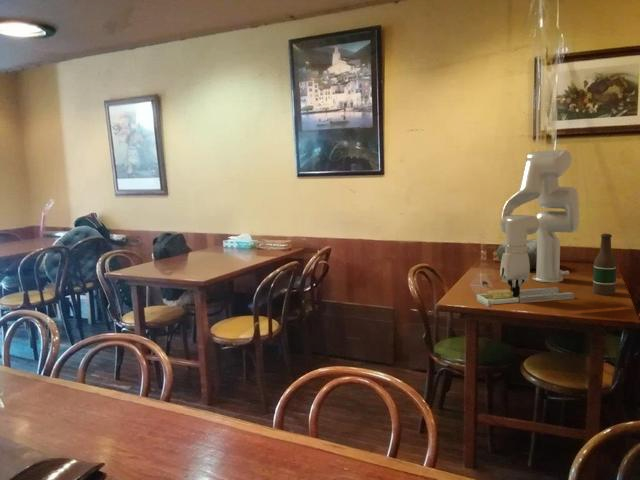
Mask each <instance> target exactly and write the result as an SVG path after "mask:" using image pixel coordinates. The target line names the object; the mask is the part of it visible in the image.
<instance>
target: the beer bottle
mask: <svg viewBox="0 0 640 480" xmlns="http://www.w3.org/2000/svg"><path fill="white" fill-rule="evenodd" d="M600 237H601V239H600V248H599V253H598V254H597V256H596V257H595V259H594V261H593V262H594V263H593V270H592V271H593V275H592V276H593V277H592V293H593V294H595V295H599V296H614V295H615V294H616V287H617V286H616V284H617V281H616V280H617V260H616V259H615V257H614V255H613V253H612V234H610V233H601V234H600ZM613 294H614V295H613Z"/></svg>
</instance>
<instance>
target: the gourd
mask: <svg viewBox="0 0 640 480" xmlns="http://www.w3.org/2000/svg"><path fill="white" fill-rule="evenodd" d="M527 246H529V249H527V252H526V253H528V257H529V264H530V270H533V269H536V264H537V238H527ZM503 253H505V242H504V243H502V244H500V245H499V246H498V248H497V249H496V256H497V259H498V260H499V262H500V263H501V260H502V256H503Z"/></svg>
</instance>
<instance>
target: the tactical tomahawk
mask: <svg viewBox="0 0 640 480" xmlns="http://www.w3.org/2000/svg"><path fill="white" fill-rule="evenodd" d="M481 282H482V286H483V287H484V288H489V285H488V284H487V281H485V280H481Z"/></svg>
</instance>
